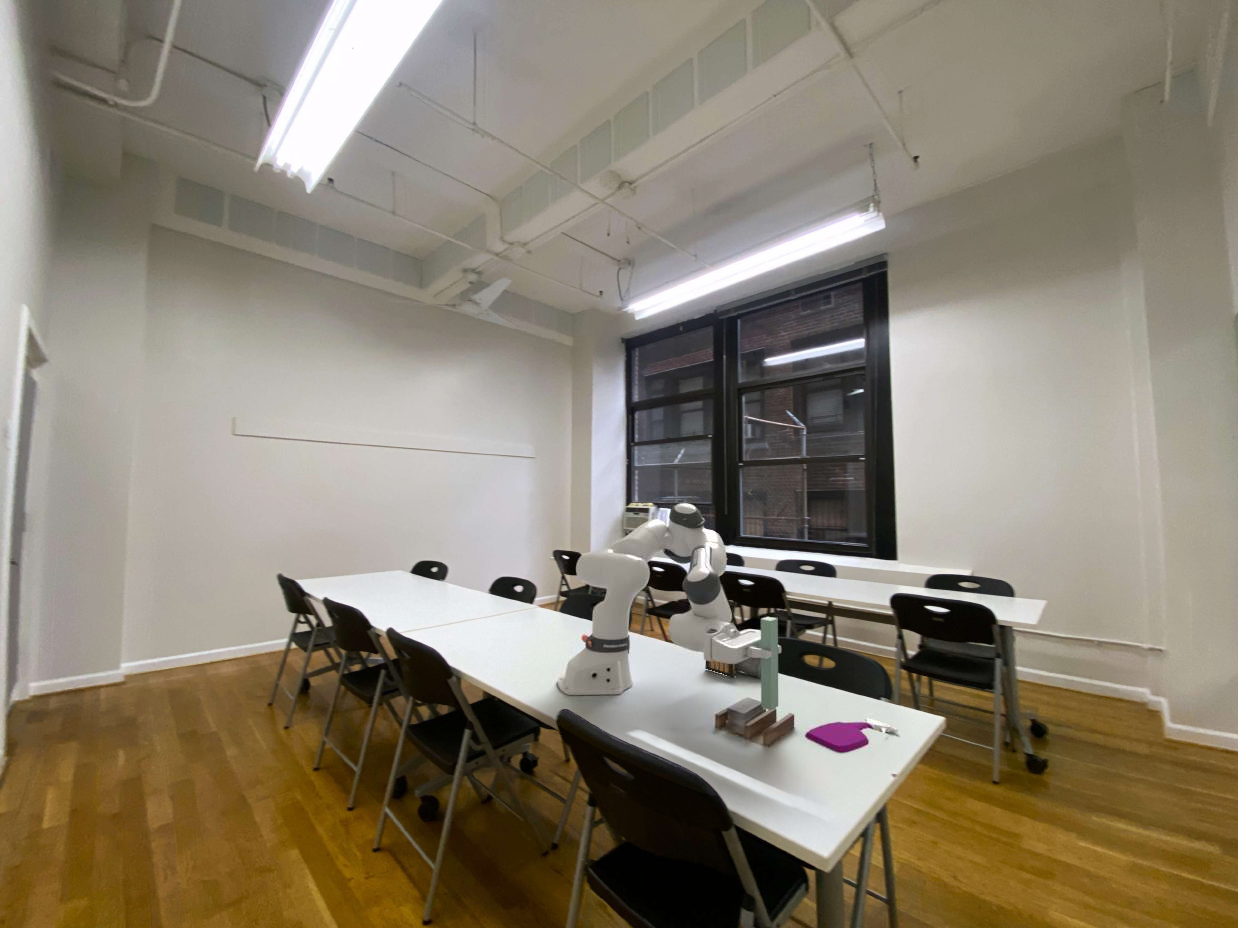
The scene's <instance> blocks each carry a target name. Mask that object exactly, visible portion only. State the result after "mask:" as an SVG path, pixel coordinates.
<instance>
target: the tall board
mask: <svg viewBox="0 0 1238 928" xmlns="http://www.w3.org/2000/svg"><path fill="white" fill-rule="evenodd" d="M778 622H779V620H778V618H777V617H770V616H766V617H762V618H760V630H761V649H769V650H771V657H770V658H768V659H765V658H761V678H760V701H761V707H763V708H766V710H773V709H774V708H776V709H777V707H779V654H778V645H779V633H778V632H779V627H778V626H779V623H778Z"/></svg>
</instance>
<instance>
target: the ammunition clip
mask: <svg viewBox="0 0 1238 928" xmlns="http://www.w3.org/2000/svg"><path fill="white" fill-rule="evenodd" d="M704 667H705V668H704V669H708V670H712V671H715V672H718V673H722V674H724V675H727V676H730V677H735V676H736V677H737V671H736V664H727V663H722V662H717V661H707V660H705V666H704ZM727 676H726V677H727ZM730 677H729V678H730ZM736 677H735V678H736Z"/></svg>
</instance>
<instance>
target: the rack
mask: <svg viewBox="0 0 1238 928" xmlns="http://www.w3.org/2000/svg"><path fill="white" fill-rule="evenodd" d="M738 702H739V701H737V702H736V703H738ZM736 703H733V704H732V705H734V704H736ZM727 708H728V707H726V708H724V709H722V710H721V711H718V712H717V713H715V714H714V717H715V718H714V719H715V720H714V728H715V729H718V730H721V731H723V732H727V733H729V734H731V735H734V736H737V737H739V738H742V739H743V740H744V739H745V740H746V741H750V742H752V743H755V744H758V745H760V746H762V747H765V748H770V747H772V746H773V745H774V744H775V743H777V742H778V741H779V740H781V739H782V738H784V737H785V736H786V735H788V734H789V733H790V732H792V731H793V730H795V729H796V727H795V714H794V713H791V712H790V713H788V714H787V715H785V716H783V717H782V718H781V719H779V720H777V719H778V718H777V707H776V708H774V709H773V710H769V709H767V710H766V712H764V713H763V714H761V715H760V716H758V717H756V718H755V719H753V720H751V721H750V722H748V723H747V724H745V735H743V734H740V733H738V732H735V731H732V730H729V729H727V728H725V721H727V720H728V715H727Z"/></svg>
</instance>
